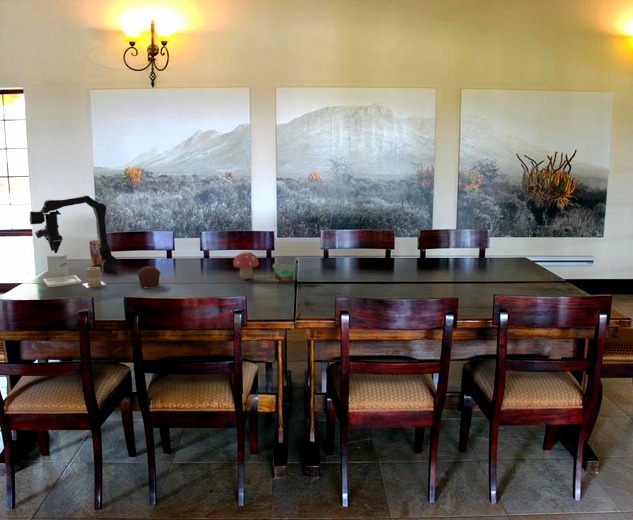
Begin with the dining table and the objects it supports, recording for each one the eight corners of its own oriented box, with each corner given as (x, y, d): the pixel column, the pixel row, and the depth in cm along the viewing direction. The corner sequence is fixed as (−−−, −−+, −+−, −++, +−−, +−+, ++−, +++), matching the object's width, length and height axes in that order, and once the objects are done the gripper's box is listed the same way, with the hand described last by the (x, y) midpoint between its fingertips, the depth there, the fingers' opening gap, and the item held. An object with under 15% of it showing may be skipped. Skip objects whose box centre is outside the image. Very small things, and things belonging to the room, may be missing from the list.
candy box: (107, 263, 353) (105, 239, 350) (106, 265, 348) (104, 240, 346) (92, 264, 350) (89, 239, 347) (91, 266, 346) (89, 241, 343)
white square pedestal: (102, 282, 303) (101, 271, 302) (106, 285, 295) (106, 275, 294) (82, 284, 297) (81, 274, 296) (86, 288, 289) (85, 277, 288)
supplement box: (60, 279, 310) (58, 256, 308) (48, 279, 311) (46, 256, 309) (69, 276, 317) (67, 254, 315) (57, 276, 319) (55, 253, 316)
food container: (277, 284, 295) (277, 265, 293) (272, 282, 301) (272, 263, 299) (299, 282, 301) (298, 263, 299) (294, 279, 306) (293, 261, 304)
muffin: (165, 284, 298) (164, 265, 296) (154, 289, 287) (153, 269, 285) (144, 283, 300) (143, 264, 298) (133, 288, 290) (132, 268, 288)
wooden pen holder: (96, 282, 300) (95, 266, 299) (102, 284, 296) (101, 268, 295) (85, 284, 296) (84, 268, 294) (92, 286, 292) (90, 270, 290)
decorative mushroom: (234, 282, 300) (233, 254, 298) (233, 277, 313) (232, 250, 311) (259, 281, 302) (259, 253, 300) (258, 276, 315) (257, 249, 313)
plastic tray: (75, 278, 311) (75, 275, 311) (81, 284, 298) (81, 280, 298) (43, 282, 303) (42, 279, 302) (48, 288, 290) (47, 284, 289)
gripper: (32, 222, 311) (34, 250, 314) (38, 226, 296) (40, 255, 298) (54, 221, 317) (56, 249, 320) (61, 224, 302) (63, 253, 305)
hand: (54, 251), depth 310 cm, fingers open, 9 cm apart
